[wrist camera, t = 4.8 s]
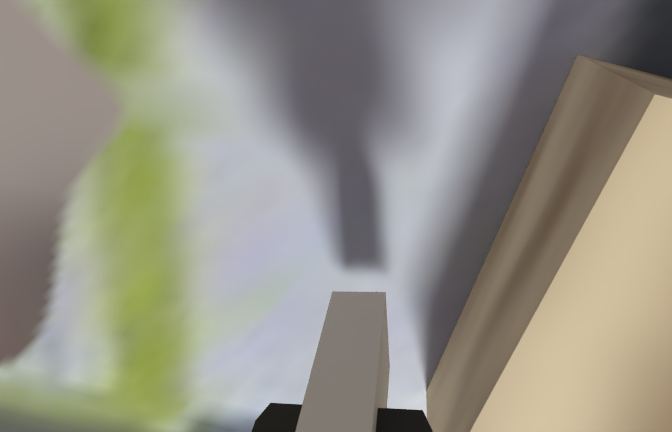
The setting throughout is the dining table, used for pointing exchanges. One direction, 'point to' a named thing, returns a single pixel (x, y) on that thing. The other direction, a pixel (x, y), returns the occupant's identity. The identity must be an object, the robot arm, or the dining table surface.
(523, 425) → the birch block
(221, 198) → the dining table surface
